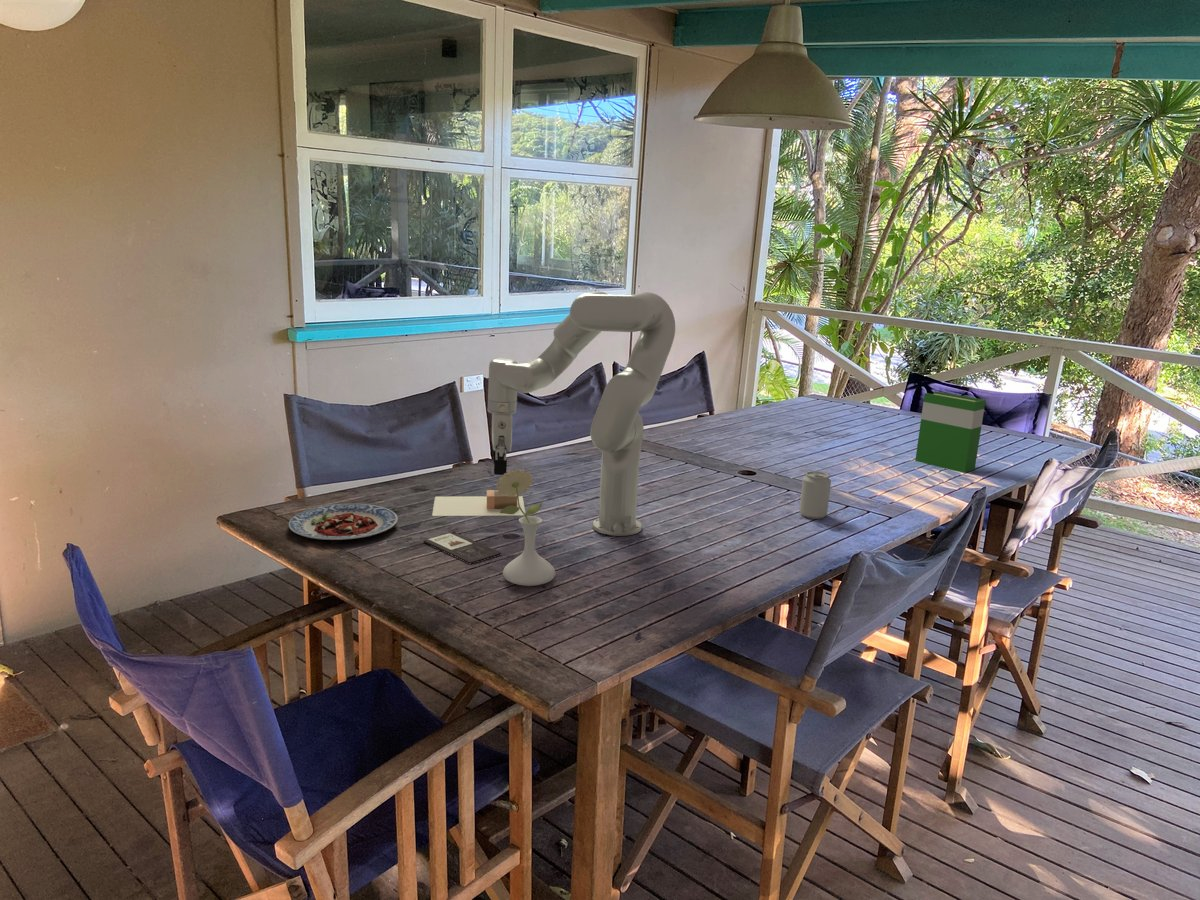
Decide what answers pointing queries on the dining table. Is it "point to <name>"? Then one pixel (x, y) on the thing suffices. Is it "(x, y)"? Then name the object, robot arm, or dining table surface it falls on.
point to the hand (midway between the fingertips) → (499, 468)
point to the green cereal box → (950, 431)
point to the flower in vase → (529, 564)
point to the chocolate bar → (462, 547)
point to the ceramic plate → (343, 521)
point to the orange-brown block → (499, 500)
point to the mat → (469, 507)
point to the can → (815, 495)
